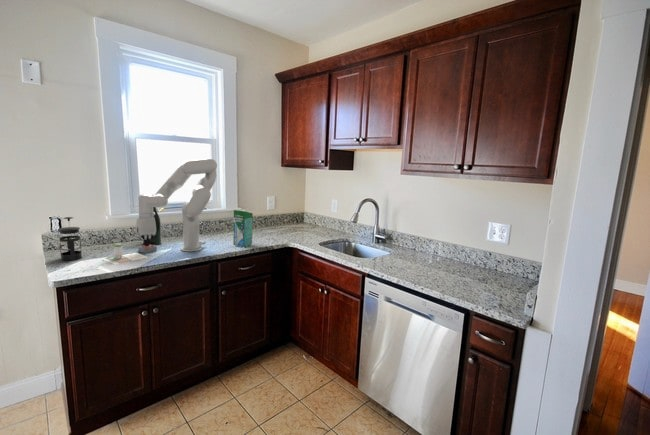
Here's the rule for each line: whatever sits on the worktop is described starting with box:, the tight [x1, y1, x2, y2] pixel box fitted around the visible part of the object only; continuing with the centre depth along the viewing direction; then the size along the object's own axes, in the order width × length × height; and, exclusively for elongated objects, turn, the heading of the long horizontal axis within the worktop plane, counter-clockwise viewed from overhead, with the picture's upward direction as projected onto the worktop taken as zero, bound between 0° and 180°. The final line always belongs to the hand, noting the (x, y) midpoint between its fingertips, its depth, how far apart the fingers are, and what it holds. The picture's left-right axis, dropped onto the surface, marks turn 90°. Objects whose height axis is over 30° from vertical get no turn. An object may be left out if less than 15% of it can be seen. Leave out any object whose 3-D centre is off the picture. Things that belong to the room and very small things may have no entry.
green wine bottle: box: [146, 194, 162, 246], centre depth 210 cm, size 10×10×33 cm
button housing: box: [137, 245, 158, 254], centre depth 191 cm, size 7×7×4 cm
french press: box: [58, 216, 83, 262], centre depth 171 cm, size 12×9×23 cm
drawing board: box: [101, 252, 149, 265], centre depth 176 cm, size 20×16×1 cm
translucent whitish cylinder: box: [112, 242, 123, 259], centre depth 174 cm, size 4×4×8 cm
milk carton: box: [232, 209, 254, 248], centre depth 218 cm, size 9×9×25 cm
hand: (146, 245), depth 190 cm, fingers closed
